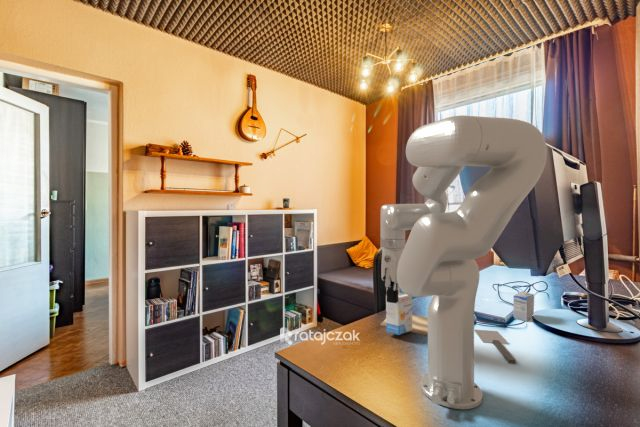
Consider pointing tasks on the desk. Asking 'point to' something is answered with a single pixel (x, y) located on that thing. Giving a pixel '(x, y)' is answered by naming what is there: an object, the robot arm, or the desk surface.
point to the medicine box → (523, 306)
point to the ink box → (399, 314)
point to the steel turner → (496, 343)
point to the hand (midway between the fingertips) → (392, 301)
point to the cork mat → (416, 325)
